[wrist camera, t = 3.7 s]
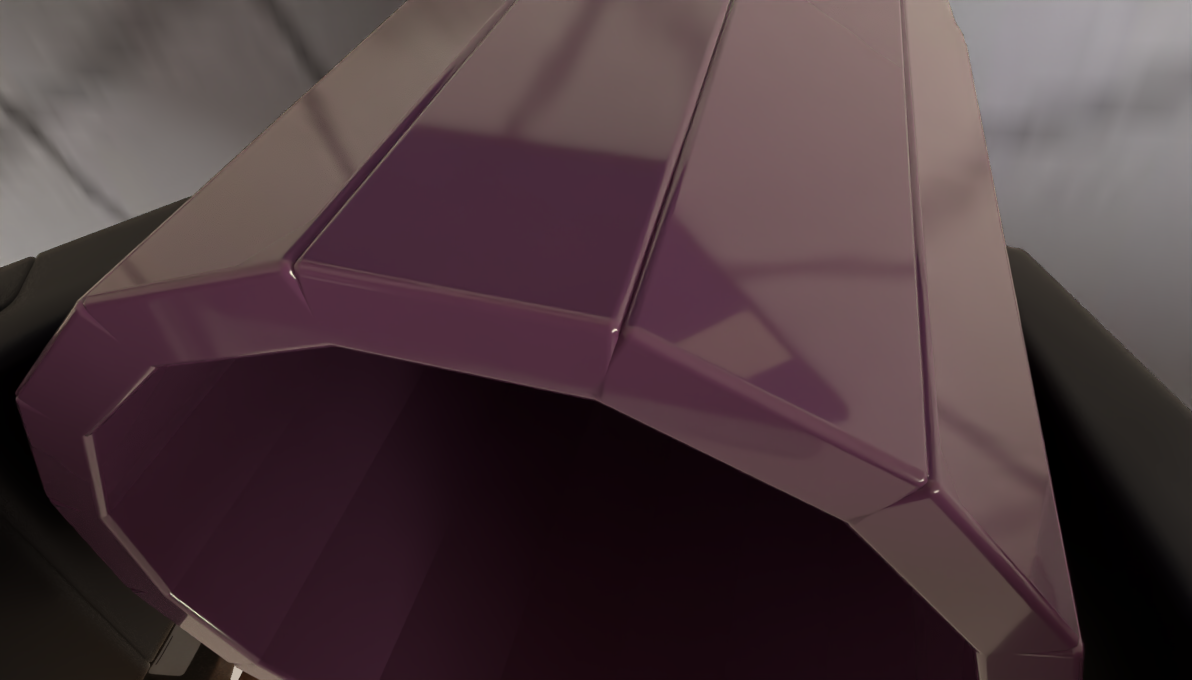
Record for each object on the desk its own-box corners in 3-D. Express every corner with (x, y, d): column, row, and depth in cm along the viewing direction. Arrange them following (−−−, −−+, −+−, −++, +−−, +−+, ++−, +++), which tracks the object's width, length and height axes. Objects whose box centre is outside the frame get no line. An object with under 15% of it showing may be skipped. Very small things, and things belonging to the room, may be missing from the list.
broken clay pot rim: (-60, 325, 19) (-339, 559, 12) (326, 280, 21) (278, 464, 14) (109, 647, 25) (-13, 932, 18) (401, 594, 27) (394, 838, 19)
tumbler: (1073, -137, 7) (1508, 497, 2) (875, 354, 12) (877, 902, 7) (413, -189, 8) (-267, 160, 3) (473, 279, 13) (230, 706, 8)
